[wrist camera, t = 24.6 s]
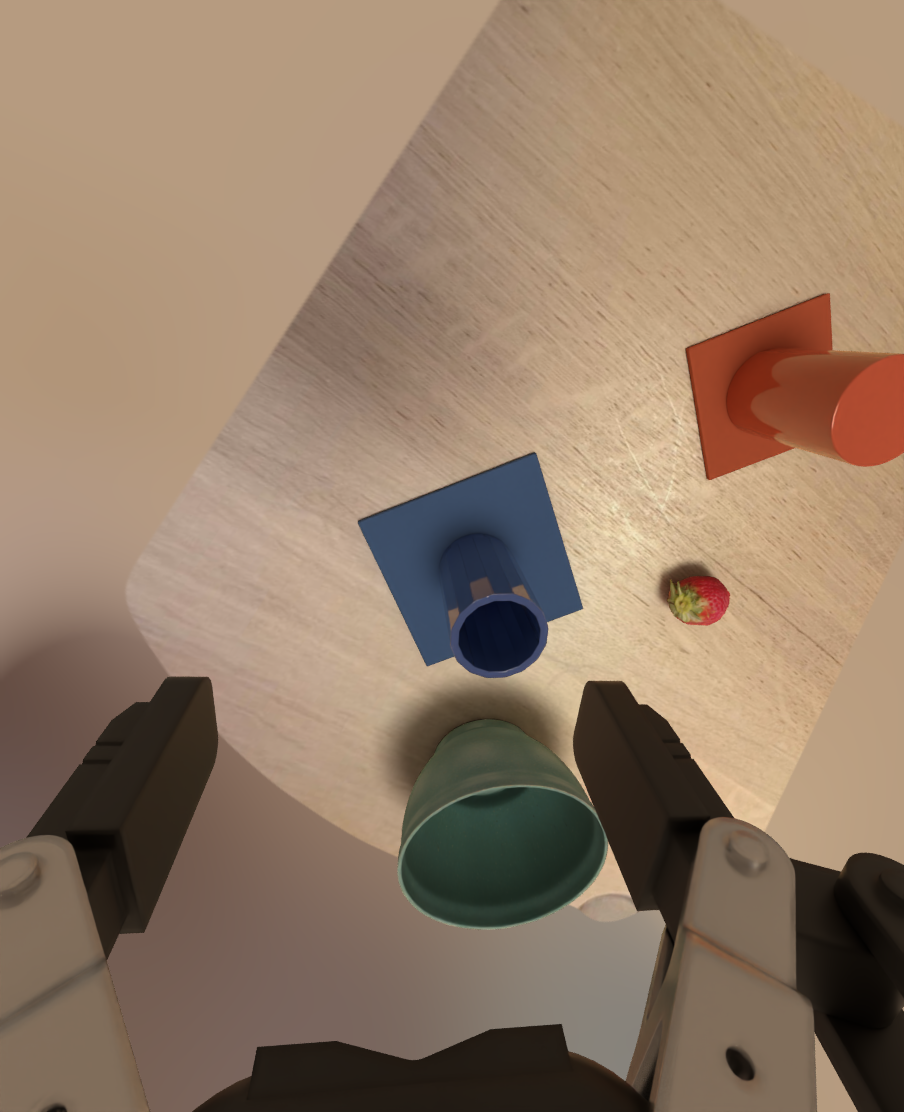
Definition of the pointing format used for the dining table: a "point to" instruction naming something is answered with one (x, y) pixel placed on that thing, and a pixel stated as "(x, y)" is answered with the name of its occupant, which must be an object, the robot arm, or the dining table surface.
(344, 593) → the dining table surface
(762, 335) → the red mat
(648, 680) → the dining table surface
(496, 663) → the blue cup
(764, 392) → the tall red cylinder
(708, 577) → the fruit
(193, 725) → the robot arm
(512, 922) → the flower pot
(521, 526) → the blue mat
